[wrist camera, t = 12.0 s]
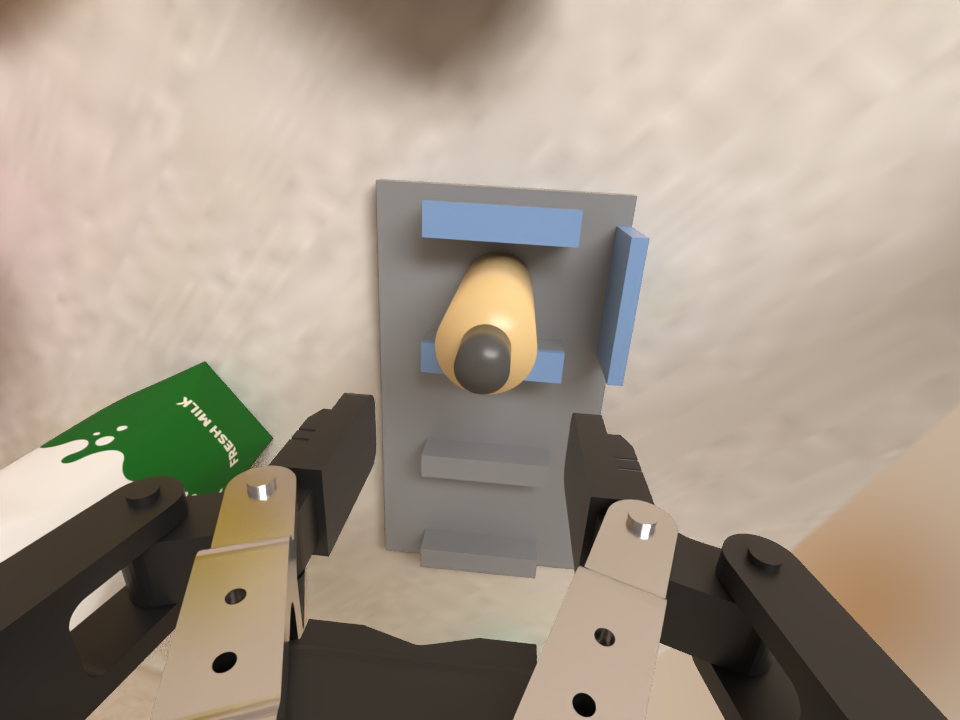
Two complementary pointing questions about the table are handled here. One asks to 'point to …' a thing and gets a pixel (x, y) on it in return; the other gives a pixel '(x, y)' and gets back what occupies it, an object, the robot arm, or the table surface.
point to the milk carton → (130, 459)
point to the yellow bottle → (489, 326)
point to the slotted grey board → (514, 413)
